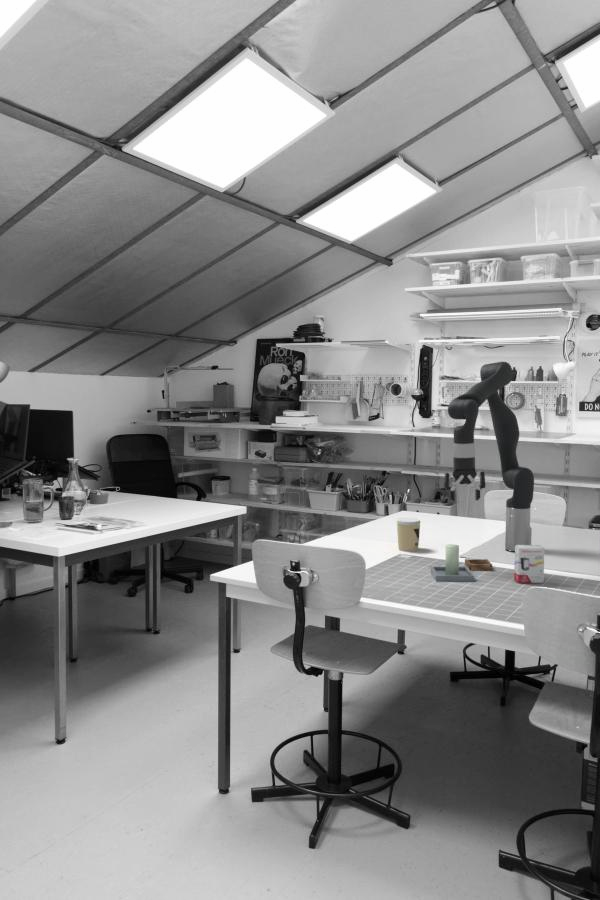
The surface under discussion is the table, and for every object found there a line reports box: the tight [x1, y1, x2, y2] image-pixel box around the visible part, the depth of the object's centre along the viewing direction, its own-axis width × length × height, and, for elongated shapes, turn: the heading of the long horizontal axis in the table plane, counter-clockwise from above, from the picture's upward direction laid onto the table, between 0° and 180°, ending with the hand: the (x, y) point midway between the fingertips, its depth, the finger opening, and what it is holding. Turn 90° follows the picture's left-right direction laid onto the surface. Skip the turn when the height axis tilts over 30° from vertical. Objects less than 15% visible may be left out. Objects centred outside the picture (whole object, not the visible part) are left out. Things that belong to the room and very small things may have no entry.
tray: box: [430, 565, 475, 582], centre depth 242 cm, size 13×13×2 cm
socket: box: [464, 558, 493, 571], centre depth 254 cm, size 8×8×2 cm
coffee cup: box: [396, 517, 421, 553], centre depth 282 cm, size 9×9×12 cm
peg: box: [444, 543, 460, 575], centre depth 241 cm, size 4×4×10 cm
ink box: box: [513, 544, 545, 584], centre depth 235 cm, size 9×5×12 cm, turn 89°
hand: (464, 500), depth 253 cm, fingers open, 8 cm apart
